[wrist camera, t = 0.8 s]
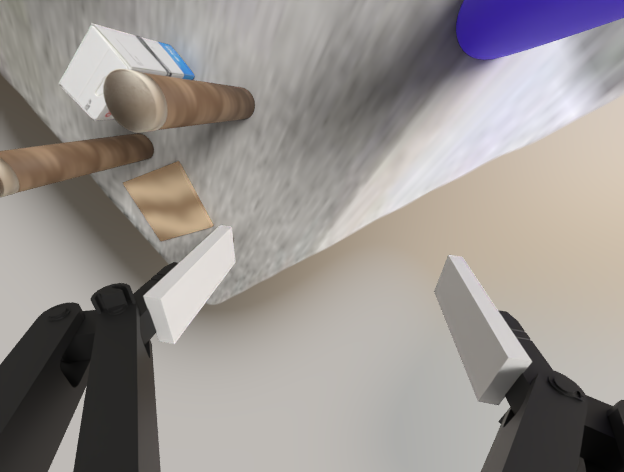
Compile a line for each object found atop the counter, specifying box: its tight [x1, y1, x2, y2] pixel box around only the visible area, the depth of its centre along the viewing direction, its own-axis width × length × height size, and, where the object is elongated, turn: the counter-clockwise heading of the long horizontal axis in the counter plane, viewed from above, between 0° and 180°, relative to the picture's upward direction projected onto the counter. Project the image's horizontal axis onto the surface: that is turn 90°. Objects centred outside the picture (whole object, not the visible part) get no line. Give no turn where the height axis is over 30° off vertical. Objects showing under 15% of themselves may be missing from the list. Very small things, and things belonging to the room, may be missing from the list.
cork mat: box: [123, 161, 214, 241], centre depth 45 cm, size 12×12×1 cm
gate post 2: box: [103, 69, 255, 133], centre depth 27 cm, size 4×4×20 cm
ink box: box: [59, 23, 195, 121], centre depth 31 cm, size 9×5×12 cm, turn 126°
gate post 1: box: [0, 133, 154, 197], centre depth 32 cm, size 4×4×20 cm
